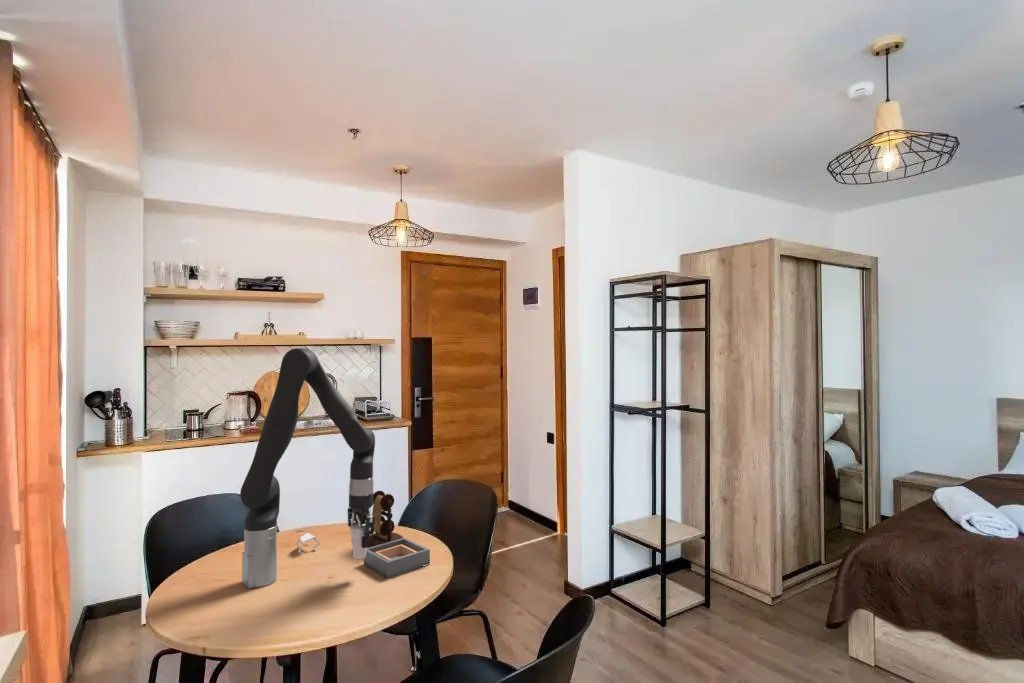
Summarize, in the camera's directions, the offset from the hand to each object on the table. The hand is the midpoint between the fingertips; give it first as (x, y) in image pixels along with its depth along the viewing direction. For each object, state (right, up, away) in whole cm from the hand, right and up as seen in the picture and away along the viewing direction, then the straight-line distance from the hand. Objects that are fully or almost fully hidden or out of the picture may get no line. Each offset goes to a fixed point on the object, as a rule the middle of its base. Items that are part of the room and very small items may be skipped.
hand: (360, 544), depth 168 cm
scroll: (+1, -12, +27) cm, 30 cm away
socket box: (+9, -11, +11) cm, 18 cm away
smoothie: (0, -4, 0) cm, 4 cm away
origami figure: (-26, -12, +25) cm, 38 cm away
